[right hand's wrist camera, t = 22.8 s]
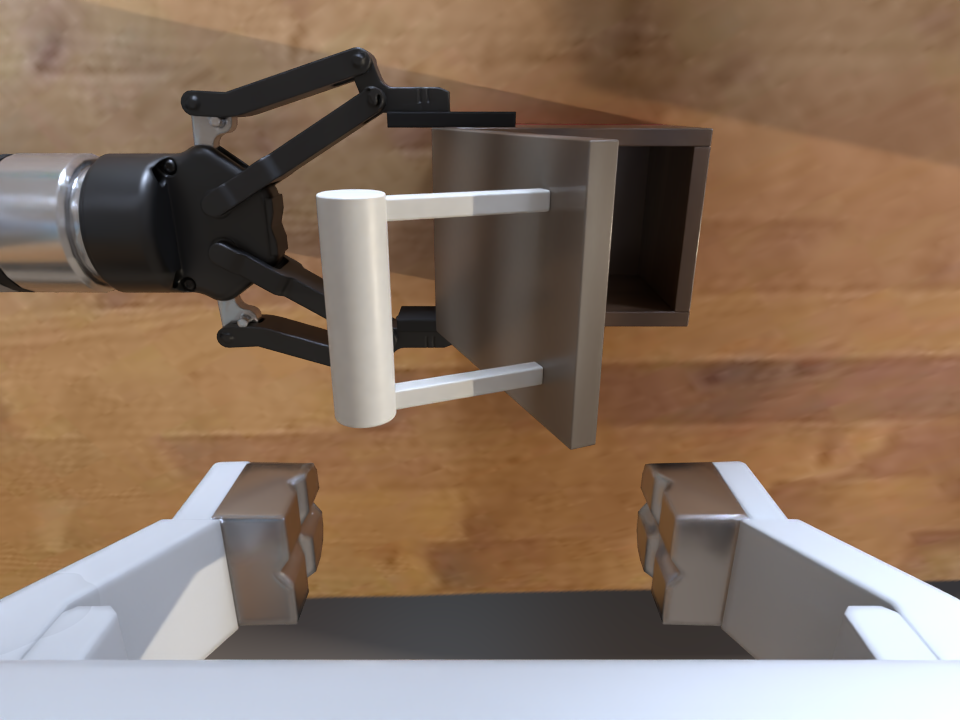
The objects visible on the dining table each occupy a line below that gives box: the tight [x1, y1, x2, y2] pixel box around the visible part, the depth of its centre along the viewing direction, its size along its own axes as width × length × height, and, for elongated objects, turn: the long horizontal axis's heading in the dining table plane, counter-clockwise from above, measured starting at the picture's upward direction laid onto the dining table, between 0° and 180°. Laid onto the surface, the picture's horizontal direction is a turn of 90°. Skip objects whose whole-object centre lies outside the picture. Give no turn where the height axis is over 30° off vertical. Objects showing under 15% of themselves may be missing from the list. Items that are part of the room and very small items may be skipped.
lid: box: [316, 128, 619, 449], centre depth 25 cm, size 14×10×9 cm
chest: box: [444, 124, 713, 326], centre depth 38 cm, size 13×10×9 cm
